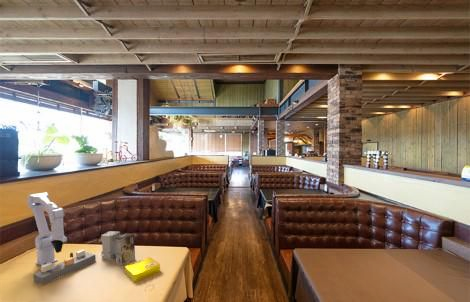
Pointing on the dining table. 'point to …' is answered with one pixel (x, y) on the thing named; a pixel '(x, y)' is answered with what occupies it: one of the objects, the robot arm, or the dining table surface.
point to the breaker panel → (63, 269)
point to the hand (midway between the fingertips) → (58, 252)
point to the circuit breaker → (109, 244)
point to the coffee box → (124, 249)
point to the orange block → (69, 261)
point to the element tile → (142, 269)
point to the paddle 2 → (80, 253)
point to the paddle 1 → (46, 267)
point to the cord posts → (70, 257)
